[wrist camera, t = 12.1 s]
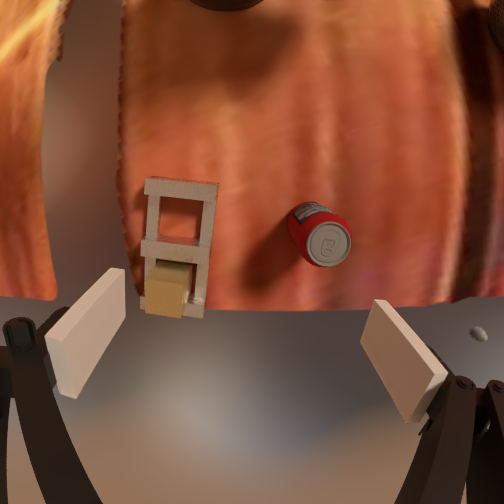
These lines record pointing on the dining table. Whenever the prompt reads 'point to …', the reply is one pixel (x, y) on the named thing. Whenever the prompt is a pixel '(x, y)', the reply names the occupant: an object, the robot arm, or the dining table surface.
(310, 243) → the beverage can
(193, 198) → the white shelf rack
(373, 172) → the dining table surface
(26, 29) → the dining table surface
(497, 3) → the planter
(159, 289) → the brass block
